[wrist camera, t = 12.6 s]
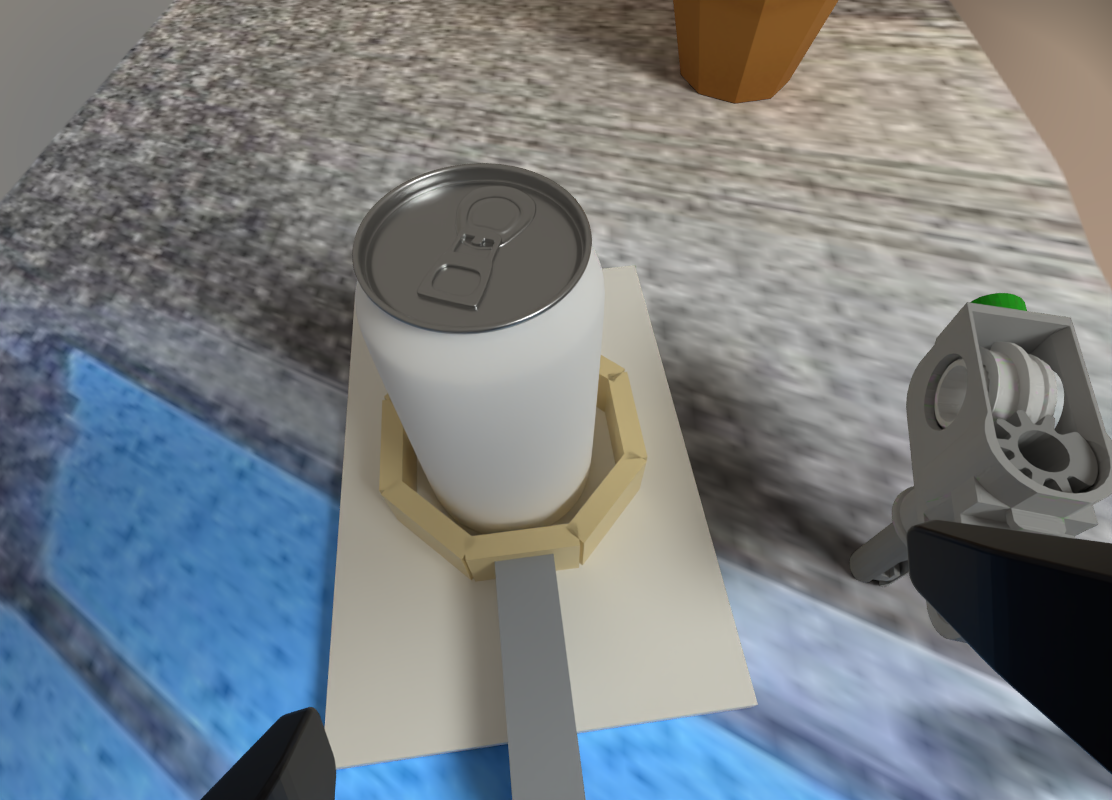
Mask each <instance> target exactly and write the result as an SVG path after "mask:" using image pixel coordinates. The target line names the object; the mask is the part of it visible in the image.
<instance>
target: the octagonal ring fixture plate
mask: <svg viewBox="0 0 1112 800" xmlns="http://www.w3.org/2000/svg"><path fill="white" fill-rule="evenodd" d="M602 271H603V277H604V288H605V301H604V319H603V333H602V345H601V357H600V369H599V381H598V392H597V404H596V415H595V426H594V436H593V447H592V456H591V465H590V471H589V476H588V479H587V483H586V485H585V488H584V490H583V492H582V494H581V496H580V497H579V499H578V501H577V502H576V503H575V505H574V506H573V507H572V508H571V509H570V510H569V511H568V512H567V513H566V514H565V515H564V516H563V517H562V518H560V519H559V520H558V521H556V522H555V523H553V524H551V525H550V526H546V527H538V528H531V529H523V530H515V531H508V532H500V533H492V534H483V533H480V532H477V531H474V530H472V529H470V528H468V527H466V526H464V525H462V524H461V523H459V522H458V521H457V520H455V519H454V518H453V517H452V516H451V515H450V514H449V513H448V512H447V511H446V510H445V509H444V507H443V506H442V505H441V503H440V502H439V500H438V498H437V497H436V495H435V493H434V491H433V489H432V487H431V485H430V483H429V481H428V479H427V477H426V474H425V472H424V470H423V468H422V466H421V464H420V462H419V460H418V457H417V455H416V453H415V451H414V449H413V447H412V445H411V442H410V440H409V438H408V436H407V434H406V432H405V429H404V427H403V425H402V423H401V421H400V419H399V416H398V414H397V412H396V410H395V408H394V405H393V403H392V401H391V399H390V397H389V394H388V392H387V390H386V388H385V386H384V383H383V381H382V379H381V377H380V375H379V372H378V370H377V368H376V366H375V364H374V361H373V359H372V357H371V354H370V352H369V350H368V348H367V345H366V343H365V340H364V338H363V335H362V333H361V330H360V327H359V323H358V319H357V315H356V309H355V303H354V317H353V332H352V346H351V360H350V374H349V388H348V403H347V417H346V431H345V445H344V459H343V474H342V488H341V502H340V516H339V530H338V545H337V559H336V573H335V587H334V601H333V616H332V630H331V644H330V658H329V672H328V687H327V701H326V715H325V732H326V735H327V737H328V740H329V743H330V746H331V749H332V751H333V754H334V758H335V764H336V770H338V769H345V768H351V767H358V766H365V765H371V764H378V763H385V762H391V761H398V760H405V759H411V758H418V757H425V756H431V755H438V754H445V753H451V752H458V751H464V750H471V749H478V748H484V747H491V746H498V745H504V744H508V748H509V762H510V775H511V789H512V800H585V792H584V784H583V777H582V769H581V761H580V754H579V746H578V738H577V733H584V732H591V731H597V730H604V729H611V728H617V727H624V726H631V725H637V724H644V723H651V722H657V721H664V720H671V719H677V718H684V717H690V716H697V715H704V714H710V713H717V712H724V711H730V710H737V709H744V708H750V707H753V706H755V705H758V704H757V700H756V697H755V693H754V689H753V686H752V682H751V679H750V675H749V672H748V668H747V664H746V661H745V657H744V654H743V650H742V647H741V643H740V639H739V636H738V632H737V629H736V625H735V622H734V618H733V614H732V611H731V607H730V604H729V600H728V597H727V593H726V589H725V586H724V582H723V579H722V575H721V572H720V568H719V564H718V561H717V557H716V554H715V550H714V547H713V543H712V539H711V536H710V532H709V529H708V525H707V522H706V518H705V514H704V511H703V507H702V504H701V500H700V497H699V493H698V489H697V486H696V482H695V479H694V475H693V472H692V468H691V464H690V461H689V457H688V454H687V450H686V447H685V443H684V439H683V436H682V432H681V429H680V425H679V422H678V418H677V414H676V411H675V407H674V404H673V400H672V397H671V393H670V389H669V386H668V382H667V379H666V375H665V372H664V368H663V364H662V361H661V357H660V354H659V350H658V347H657V343H656V339H655V336H654V332H653V329H652V325H651V322H650V318H649V314H648V311H647V307H646V304H645V300H644V297H643V293H642V289H641V286H640V282H639V279H638V275H637V272H636V268H635V265H634V266H625V267H615V268H606V269H602Z"/></svg>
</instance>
